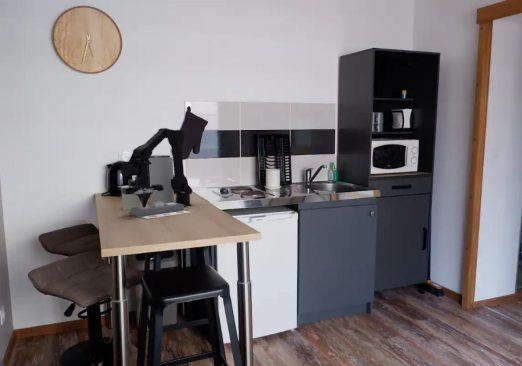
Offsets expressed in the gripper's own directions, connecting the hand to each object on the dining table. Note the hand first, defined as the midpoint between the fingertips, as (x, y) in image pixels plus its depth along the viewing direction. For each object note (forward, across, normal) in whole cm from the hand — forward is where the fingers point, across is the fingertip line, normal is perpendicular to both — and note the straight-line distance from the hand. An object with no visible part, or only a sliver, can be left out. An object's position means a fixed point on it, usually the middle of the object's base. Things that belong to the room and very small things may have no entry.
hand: (144, 207), depth 210 cm
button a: (+2, 0, 0) cm, 2 cm away
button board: (+3, -7, 0) cm, 8 cm away
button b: (+2, -14, 0) cm, 14 cm away
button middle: (+1, -7, 0) cm, 7 cm away
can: (+4, -2, -20) cm, 20 cm away
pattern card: (+3, -7, +10) cm, 12 cm away
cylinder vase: (+4, -21, -23) cm, 31 cm away
